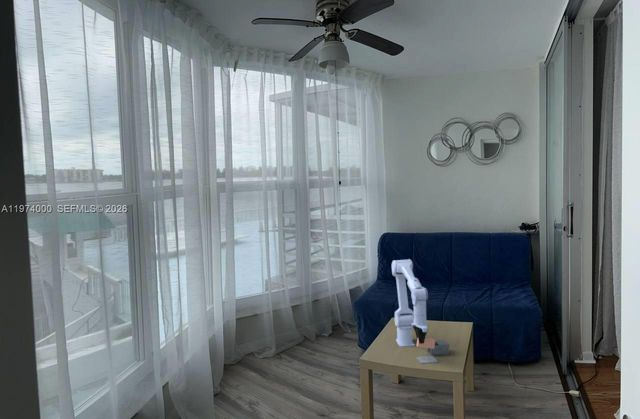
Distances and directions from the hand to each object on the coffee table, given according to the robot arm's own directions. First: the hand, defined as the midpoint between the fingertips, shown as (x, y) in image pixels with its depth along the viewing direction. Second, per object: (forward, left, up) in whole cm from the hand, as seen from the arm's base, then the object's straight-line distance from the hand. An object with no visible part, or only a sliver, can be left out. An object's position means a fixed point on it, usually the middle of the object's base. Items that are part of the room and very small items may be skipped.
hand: (420, 342), depth 202 cm
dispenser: (-6, +10, -9) cm, 14 cm away
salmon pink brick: (0, +2, -3) cm, 3 cm away
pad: (+1, +3, -9) cm, 9 cm away
